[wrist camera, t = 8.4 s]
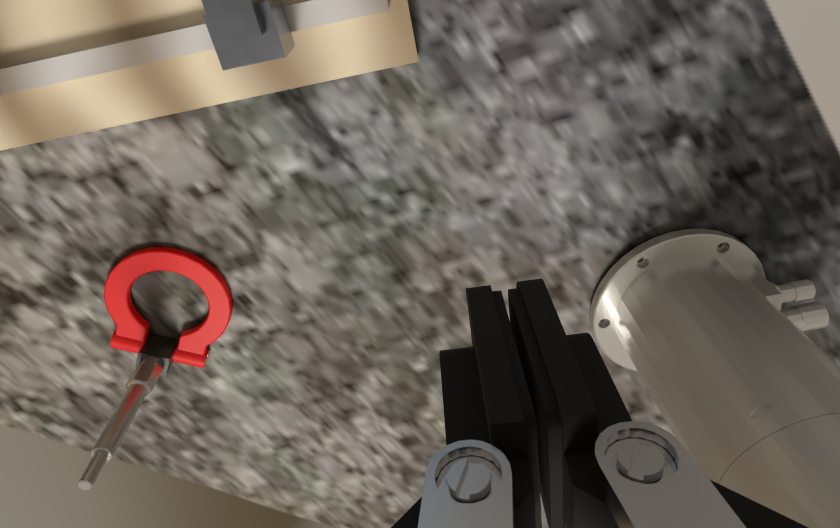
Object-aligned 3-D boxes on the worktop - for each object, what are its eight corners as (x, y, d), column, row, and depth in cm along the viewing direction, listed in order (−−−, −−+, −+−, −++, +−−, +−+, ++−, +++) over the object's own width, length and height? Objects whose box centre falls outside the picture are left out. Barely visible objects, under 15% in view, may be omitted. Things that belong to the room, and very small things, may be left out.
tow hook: (118, 228, 36) (103, 336, 40) (1, 347, 25) (-3, 481, 29) (245, 263, 38) (219, 362, 42) (190, 388, 27) (162, 508, 31)
